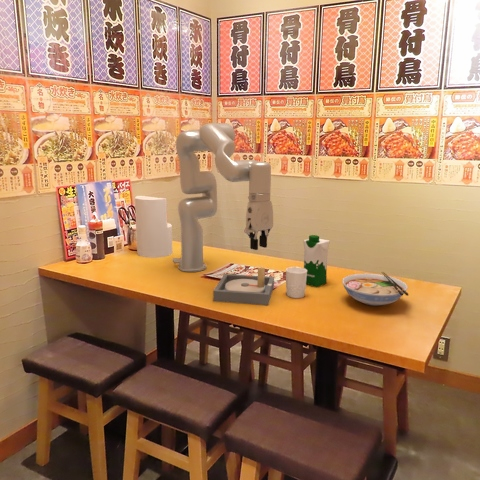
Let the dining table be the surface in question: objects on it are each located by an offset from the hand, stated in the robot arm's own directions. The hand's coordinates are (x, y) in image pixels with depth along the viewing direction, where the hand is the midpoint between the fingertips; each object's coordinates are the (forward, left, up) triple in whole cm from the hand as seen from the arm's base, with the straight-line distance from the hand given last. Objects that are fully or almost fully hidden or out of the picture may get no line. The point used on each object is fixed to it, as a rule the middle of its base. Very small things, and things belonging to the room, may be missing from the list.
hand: (258, 247), depth 164 cm
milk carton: (+21, +21, -20) cm, 35 cm away
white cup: (+14, +6, -20) cm, 25 cm away
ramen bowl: (+42, +4, -20) cm, 46 cm away
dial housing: (-5, +4, -19) cm, 20 cm away
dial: (-5, +4, -18) cm, 19 cm away
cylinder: (-58, +52, -20) cm, 80 cm away
